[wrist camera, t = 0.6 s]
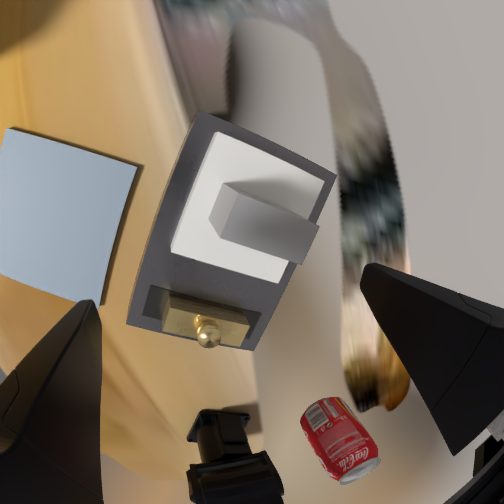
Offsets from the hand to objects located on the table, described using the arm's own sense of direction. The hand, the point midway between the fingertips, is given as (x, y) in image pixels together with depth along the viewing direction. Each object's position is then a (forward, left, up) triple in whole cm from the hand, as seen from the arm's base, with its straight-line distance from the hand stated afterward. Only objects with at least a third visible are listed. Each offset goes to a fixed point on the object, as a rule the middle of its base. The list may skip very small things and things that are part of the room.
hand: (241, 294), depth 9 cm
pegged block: (-7, -3, -11) cm, 14 cm away
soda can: (-21, -25, -15) cm, 36 cm away
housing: (-2, -3, -14) cm, 15 cm away
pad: (-5, +11, -14) cm, 19 cm away
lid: (+1, -3, -11) cm, 12 cm away
